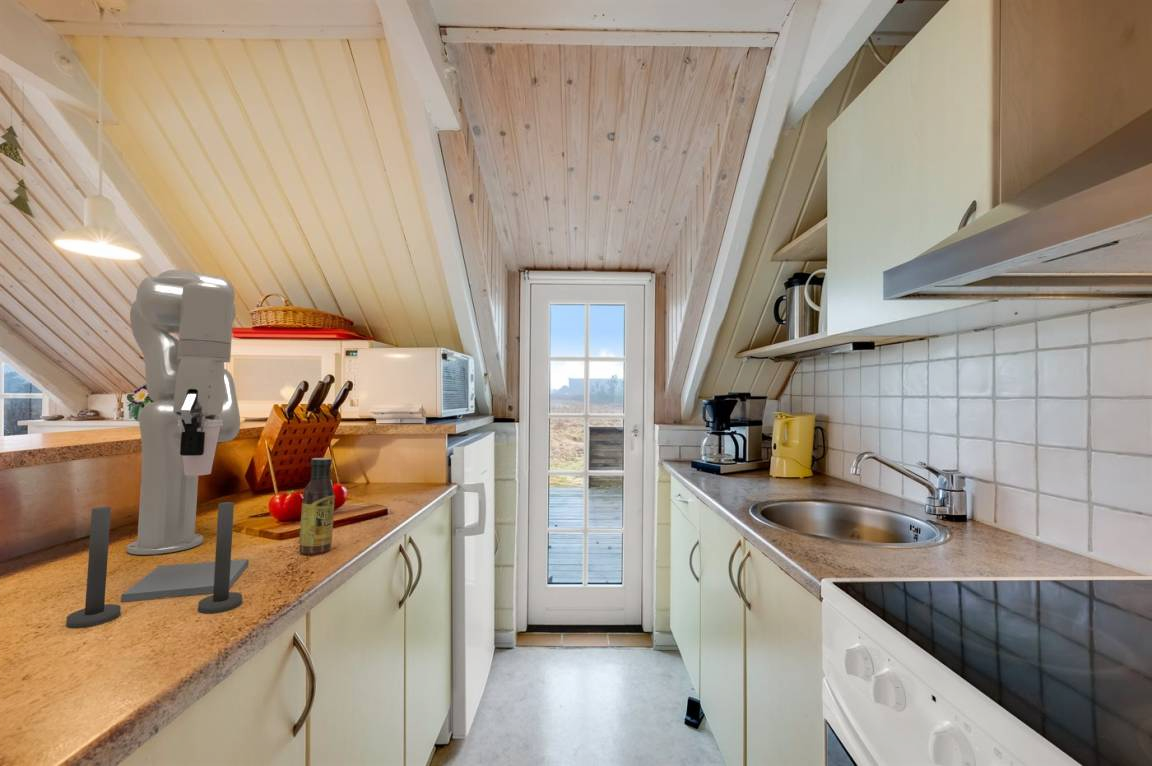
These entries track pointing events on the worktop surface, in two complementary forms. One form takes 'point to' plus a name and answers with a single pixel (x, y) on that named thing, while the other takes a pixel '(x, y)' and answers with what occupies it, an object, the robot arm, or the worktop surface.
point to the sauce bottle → (317, 509)
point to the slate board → (180, 580)
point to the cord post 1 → (96, 576)
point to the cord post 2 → (222, 566)
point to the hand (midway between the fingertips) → (199, 452)
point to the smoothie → (205, 461)
